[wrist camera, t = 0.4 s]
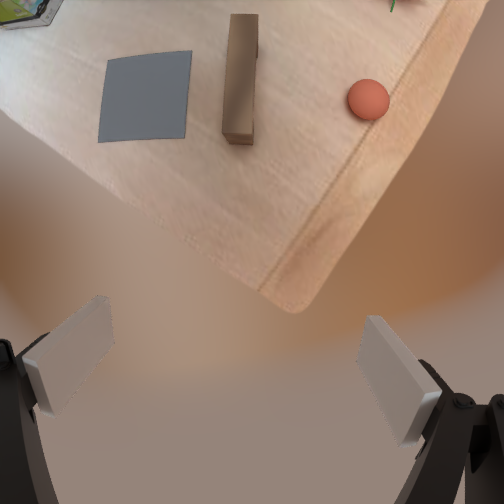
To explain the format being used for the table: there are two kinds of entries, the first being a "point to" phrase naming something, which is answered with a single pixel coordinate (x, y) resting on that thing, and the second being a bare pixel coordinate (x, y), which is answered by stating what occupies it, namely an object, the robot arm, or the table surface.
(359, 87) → the ball
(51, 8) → the tea box
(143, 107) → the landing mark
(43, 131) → the table surface
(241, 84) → the bridge
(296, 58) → the table surface
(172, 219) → the table surface
